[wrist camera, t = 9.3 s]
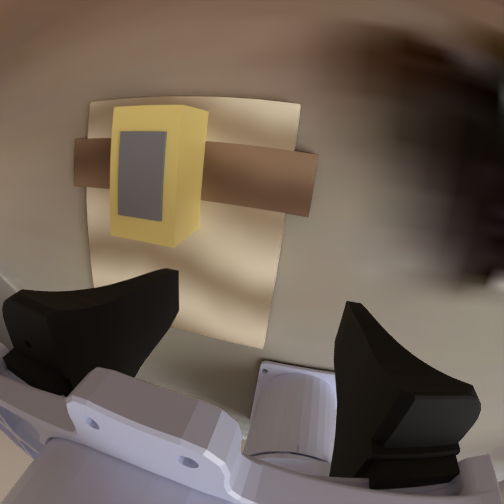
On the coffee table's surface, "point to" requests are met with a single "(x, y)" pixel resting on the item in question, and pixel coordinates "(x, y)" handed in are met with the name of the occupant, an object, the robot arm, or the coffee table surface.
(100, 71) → the coffee table surface
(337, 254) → the coffee table surface
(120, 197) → the stud finder
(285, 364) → the robot arm
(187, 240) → the subfloor
